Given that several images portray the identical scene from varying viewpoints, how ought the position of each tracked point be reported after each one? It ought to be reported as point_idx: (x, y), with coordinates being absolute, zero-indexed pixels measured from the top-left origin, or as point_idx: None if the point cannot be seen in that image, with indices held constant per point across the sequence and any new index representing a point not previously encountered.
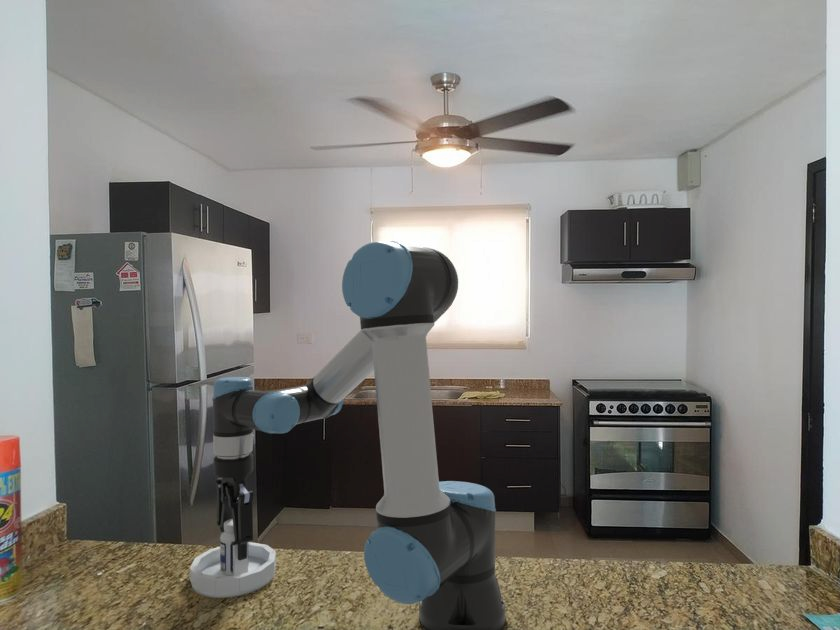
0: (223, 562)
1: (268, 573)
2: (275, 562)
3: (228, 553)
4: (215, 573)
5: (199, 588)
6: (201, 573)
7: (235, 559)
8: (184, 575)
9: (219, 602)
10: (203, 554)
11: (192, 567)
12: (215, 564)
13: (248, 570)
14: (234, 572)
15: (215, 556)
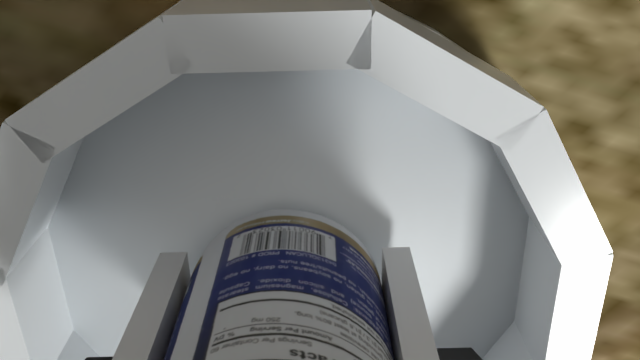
0: (238, 259)
1: None
2: None
3: (184, 338)
4: (353, 178)
5: (164, 11)
6: (196, 64)
7: (126, 341)
8: (563, 3)
9: (5, 82)
10: (558, 187)
11: (370, 34)
12: (489, 219)
13: None
14: (153, 271)
15: (541, 252)
